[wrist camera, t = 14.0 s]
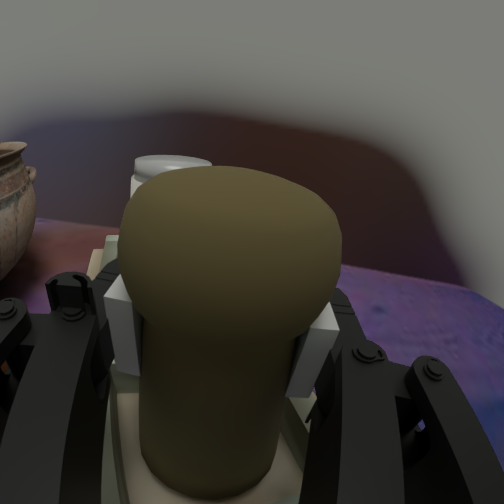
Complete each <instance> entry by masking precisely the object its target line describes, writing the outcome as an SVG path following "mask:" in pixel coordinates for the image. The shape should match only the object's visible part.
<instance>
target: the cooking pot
mask: <svg viewBox="0 0 504 504" xmlns="http://www.w3.org/2000/svg"><path fill="white" fill-rule="evenodd" d="M26 146H27V144H26V143H24V142H3V143H0V281H1V280H2V279H3V278H4V277H5V276H6V275H7V274H8V273H9V272H10V271H11V269H12V268H13V267H14V266H15V265H16V264H17V262H18V261H19V259H20V258H21V256H22V255H23V253H24V251H25V250H26V248H27V246H28V243H29V240H30V238H31V235H32V232H33V228H34V224H35V218H36V199H35V194H34V190H33V187H32V184H33V182H34V180H35V178H36V170H35V168H34V167H31V166H29V167H25V165H24V162H23V160H22V158H21V152H22V151H23V150H24V149H25V148H26Z"/></svg>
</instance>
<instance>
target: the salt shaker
mask: <svg viewBox="0 0 504 504" xmlns="http://www.w3.org/2000/svg"><path fill="white" fill-rule="evenodd" d="M211 165H212V164H211V163H210V162H208V161H206V160H203V159H198V158H193V157H186V156H176V155H151V156H143V157H139V158H137V159H136V160H135V174H134V175H133V176H132V178H131V197H132V195H133V194H134V192H135V191H136V189H137V188H138V187H139V186H140V185H141V184H143V183H144V182H146V181H147V180H149V179H151V178H153V177H154V176H156V175H158V174H160V173H163V172H166V171H170V170H175V169H182V168H189V167H198V166H211Z"/></svg>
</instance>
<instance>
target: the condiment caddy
mask: <svg viewBox="0 0 504 504" xmlns="http://www.w3.org/2000/svg"><path fill="white" fill-rule="evenodd" d="M118 237H119V235H107V237H106V242H105V246H104V249H93V253H92V257H91V260H90V264H89V268H88V271H87V276H89V277H90V278H91V280H93V279H95V277H96V276H97V275H98V273H99V272H101V270H102V269H103V268H104V266H105V265H106V264H107V263H109V262H110V261H112V260H114V259H116V258H118V251H117V242H118ZM109 371H110V376H111V385H110V392H109V399H108V407H107V415H106V424H105V434H104V446H103V461H102V483H101V504H298V503H299V498H300V492H301V486H302V480H303V474H304V467H305V460H306V453H307V446H308V438H309V430H310V422H311V419H310V421H309V423H305V420H306V418H307V416H308V414H309V412H310V410H311V408H312V407H313V405H314V403H315V401H316V399H317V397H316V396H315V394H314V393H313V391H312V393H311V395H310V397H309V398H295V397H287V399H286V404H285V410H284V415H283V420H282V425H281V430H280V435H279V440H278V445H277V450H276V454H275V457H274V460H273V463H272V466H271V469H270V471H269V472H268V473H267V474H266V475H265V477H264V478H263V479H262V480H261V481H260V482H259V484H258V485H256V486H255V487H253V488H251V489H249V490H247V491H246V492H244V493H242V494H240V495H238V496H233V497H228V498H222V499H217V500H212V499H203V498H195V497H189V496H187V495H185V494H182V493H180V492H178V491H175V490H173V489H171V488H169V487H167V486H166V485H165V484H164V483H163V482H162V481H160V480H159V479H158V478H157V477H156V476H155V475H154V474H153V473H151V471H150V469H149V467H148V466H147V464H146V462H145V460H144V459H143V457H142V455H141V448H140V441H139V376H136V375H132V374H128V373H124V372H120V371H117V370H116V365H115V360H113V362H112V364H111V366H110V368H109Z"/></svg>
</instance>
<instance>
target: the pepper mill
mask: <svg viewBox="0 0 504 504" xmlns="http://www.w3.org/2000/svg"><path fill="white" fill-rule="evenodd" d="M117 251H118V265H119V271H120V274H121V277H122V280H123V282H124V285H125V288H126V290H127V293H128V295H129V297H130V299H131V301H132V302H133V304H134V306H135V308H136V310H137V312H138V313H139V314H140V315H142V316H143V325H142V351H141V376H139V441H140V448H141V455H142V457H143V459H144V460H145V462H146V464H147V466H148V467H149V469H150V471H151V473H153V474H154V475H155V476H156V477H157V478H158V479H159V480H160V481H162V482H163V483H164V484H165V485H166V486H167V487H169V488H171V489H173V490H175V491H178V492H180V493H182V494H185V495H187V496H189V497H195V498H203V499H212V500H217V499H222V498H228V497H233V496H238V495H240V494H242V493H244V492H246V491H247V490H249V489H251V488H253V487H255V486H256V485H258V484H259V482H260V481H261V480H262V479H263V478H264V477H265V475H266V474H267V473H268V472H269V471H270V469H271V466H272V463H273V460H274V457H275V454H276V450H277V445H278V440H279V435H280V430H281V425H282V420H283V415H284V410H285V404H286V399H287V397H284V396H285V392H286V388H287V383H288V378H289V373H290V369H291V364H292V359H293V354H294V349H295V343H296V338H297V336H299V335H301V334H303V333H304V332H305V331H306V330H307V329H308V328H309V327H310V326H311V325H312V323H313V322H314V321H315V320H316V319H317V318H318V317H319V315H320V314H321V313H322V311H323V310H324V308H325V307H326V305H327V304H328V303H329V301H330V300H331V298H332V296H333V293H334V290H335V288H336V285H337V282H338V279H339V276H340V269H341V251H342V235H341V231H340V228H339V224H338V221H337V218H336V215H335V213H334V212H333V211H332V210H331V208H330V207H329V206H328V205H327V204H326V203H325V202H324V201H323V200H322V199H321V198H320V197H319V196H318V195H317V194H315V193H313V192H311V191H310V190H308V189H307V188H304V187H302V186H300V185H298V184H295V183H293V182H291V181H289V180H286V179H283V178H281V177H278V176H275V175H271V174H267V173H264V172H261V171H257V170H252V169H247V168H240V167H230V166H198V167H189V168H182V169H175V170H170V171H166V172H163V173H160V174H158V175H156V176H154V177H153V178H151V179H149V180H147V181H146V182H144V183H143V184H141V185H140V186H139V187H138V188H137V189H136V191H135V192H134V194H133V195H132V197H131V199H130V200H129V202H128V203H127V205H126V207H125V211H124V215H123V219H122V223H121V227H120V232H119V237H118V242H117Z"/></svg>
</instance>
